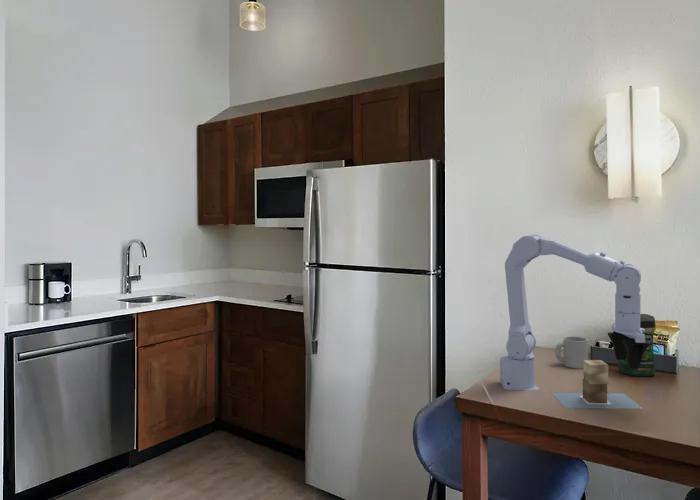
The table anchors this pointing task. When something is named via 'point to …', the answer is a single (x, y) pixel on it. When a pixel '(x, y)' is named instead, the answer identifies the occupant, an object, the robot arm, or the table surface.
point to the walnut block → (594, 392)
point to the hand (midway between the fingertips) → (627, 363)
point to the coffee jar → (648, 357)
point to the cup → (573, 352)
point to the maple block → (595, 372)
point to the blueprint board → (612, 402)
